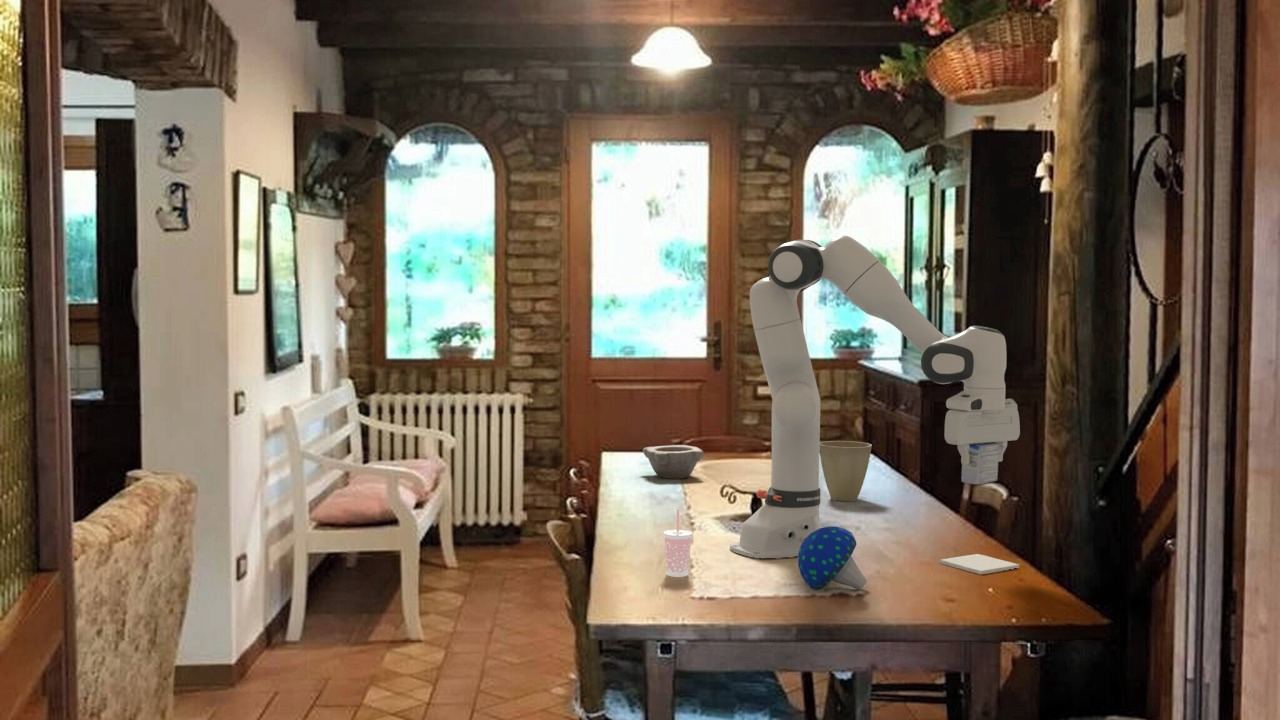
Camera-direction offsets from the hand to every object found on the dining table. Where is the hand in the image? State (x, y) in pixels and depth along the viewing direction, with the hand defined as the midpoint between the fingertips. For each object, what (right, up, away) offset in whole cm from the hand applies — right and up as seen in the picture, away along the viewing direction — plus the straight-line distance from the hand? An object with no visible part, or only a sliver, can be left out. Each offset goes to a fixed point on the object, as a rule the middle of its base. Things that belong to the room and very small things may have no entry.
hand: (982, 462), depth 272 cm
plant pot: (-17, -17, +82) cm, 85 cm away
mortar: (-65, -14, +117) cm, 135 cm away
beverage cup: (-67, -23, -10) cm, 72 cm away
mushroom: (-36, -24, -20) cm, 48 cm away
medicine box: (0, -5, +1) cm, 5 cm away
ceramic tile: (0, -23, +2) cm, 23 cm away
